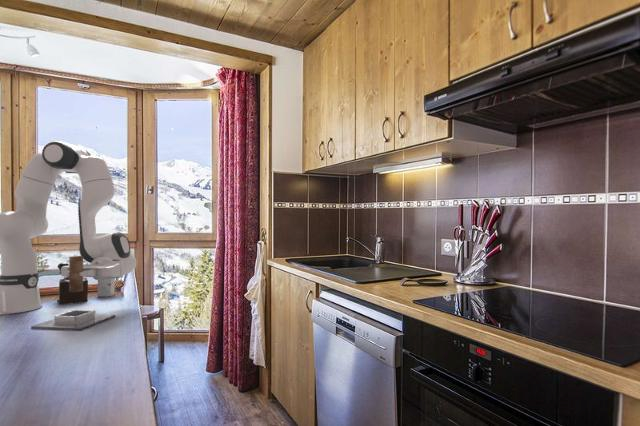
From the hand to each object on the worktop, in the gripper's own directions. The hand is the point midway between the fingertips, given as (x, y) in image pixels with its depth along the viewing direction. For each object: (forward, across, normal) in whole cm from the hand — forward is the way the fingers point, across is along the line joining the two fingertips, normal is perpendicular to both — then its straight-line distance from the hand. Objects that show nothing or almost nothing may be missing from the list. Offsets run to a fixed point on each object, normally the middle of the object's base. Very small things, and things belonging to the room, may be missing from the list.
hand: (74, 274), depth 126 cm
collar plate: (-1, 0, +17) cm, 17 cm away
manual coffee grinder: (-29, -26, +17) cm, 42 cm away
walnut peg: (-1, 0, +6) cm, 6 cm away
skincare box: (-43, -21, +17) cm, 51 cm away
